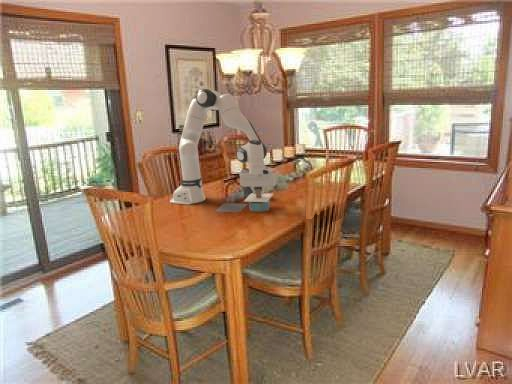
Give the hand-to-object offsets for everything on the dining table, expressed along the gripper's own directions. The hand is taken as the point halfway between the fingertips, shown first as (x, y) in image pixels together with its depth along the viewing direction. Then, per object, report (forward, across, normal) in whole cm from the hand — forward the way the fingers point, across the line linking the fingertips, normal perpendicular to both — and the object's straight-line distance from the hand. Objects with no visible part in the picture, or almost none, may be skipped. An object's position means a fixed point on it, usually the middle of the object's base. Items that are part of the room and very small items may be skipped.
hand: (258, 194), depth 222 cm
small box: (+9, -9, +19) cm, 23 cm away
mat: (+9, -17, 0) cm, 19 cm away
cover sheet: (+2, 0, 0) cm, 3 cm away
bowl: (+9, 0, 0) cm, 9 cm away
